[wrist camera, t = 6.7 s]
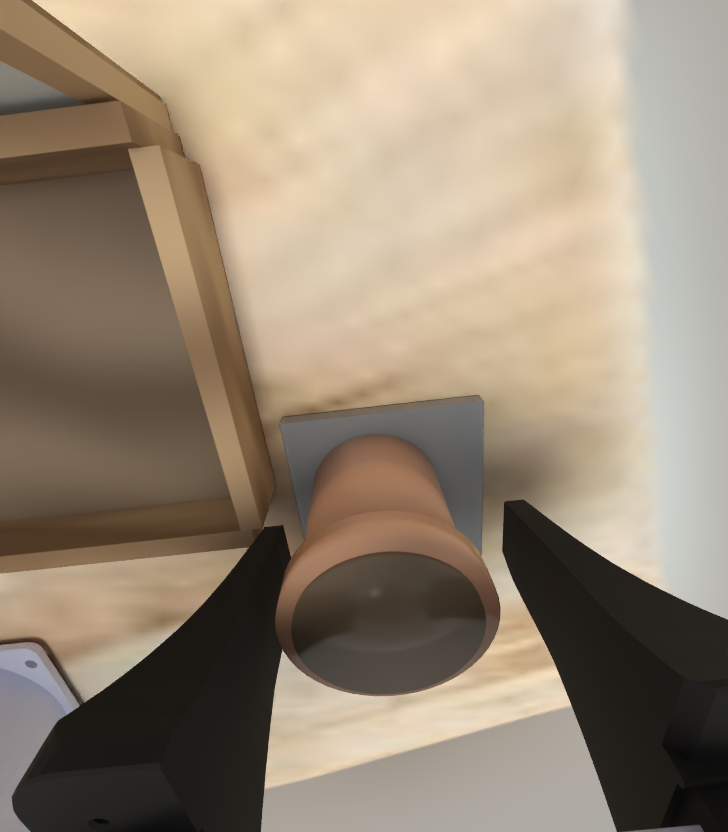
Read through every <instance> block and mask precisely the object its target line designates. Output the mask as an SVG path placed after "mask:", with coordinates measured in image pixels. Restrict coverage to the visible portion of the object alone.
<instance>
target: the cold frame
mask: <svg viewBox="0 0 728 832" xmlns="http://www.w3.org/2000/svg"><path fill="white" fill-rule="evenodd" d="M22 1H23V2H24V3H26V4H27V5H29V6H30V7H31V8H33V9H34V10H35V11H37V12H38V13H40V14H41V15H42V16H44V17H45V18H46V19H48V20H49V21H51V22H52V23H53V24H55V25H56V26H57V27H59V28H60V29H62V30H63V31H64V32H66V33H67V34H68V35H70V36H71V37H73V38H74V39H75V40H77V41H78V42H79V43H81V44H82V45H84V46H85V47H86V48H88V49H89V50H90V51H92V52H93V53H95V54H96V55H97V56H99V57H100V58H102V59H103V60H104V61H106V62H107V63H108V64H110V65H111V66H113V67H114V68H115V69H117V70H118V71H119V72H121V73H122V74H124V75H125V76H126V77H128V78H129V79H130V80H132V81H133V82H135V83H136V84H137V85H139V86H140V87H141V88H143V89H144V90H146V91H147V92H148V93H150V94H151V95H152V96H154V97H155V98H157V99H158V100H159V101H161V100H160V96H159V95H157V94H156V93H155V92H153V91H152V90H151V89H149V88H148V87H147V86H145V85H144V84H143V83H141V82H140V81H139V80H137V79H136V78H135V77H133V76H132V75H131V74H129V73H128V72H127V71H125V70H124V69H123V68H121V67H120V66H119V65H117V64H116V63H115V62H113V61H112V60H111V59H109V58H108V57H107V56H105V55H104V54H103V53H101V52H100V51H99V50H97V49H96V48H95V47H93V46H92V45H91V44H89V43H88V42H87V41H85V40H84V39H83V38H81V37H80V36H79V35H77V34H76V33H75V32H73V31H72V30H71V29H69V28H68V27H67V26H65V25H64V24H63V23H61V22H60V21H59V20H57V19H56V18H55V17H53V16H52V15H51V14H49V13H48V12H47V11H45V10H44V9H42V8H41V7H40V6H38V5H37V4H36V3H34V2H33V1H32V0H22ZM275 486H276V485H275V481H274V477H273V472H272V468H271V464H270V460H269V456H268V451H267V447H266V443H265V439H264V435H263V430H262V426H261V422H260V418H259V414H258V409H257V405H256V401H255V397H254V393H253V388H252V384H251V380H250V376H249V372H248V367H247V363H246V359H245V355H244V351H243V346H242V342H241V338H240V334H239V330H238V325H237V321H236V317H235V313H234V308H233V304H232V300H231V296H230V292H229V287H228V283H227V279H226V275H225V271H224V266H223V262H222V258H221V254H220V250H219V245H218V241H217V237H216V233H215V229H214V224H213V220H212V216H211V212H210V208H209V203H208V199H207V195H206V191H205V187H204V182H203V178H202V174H201V170H200V166H199V164H197V163H195V162H192V161H190V160H188V159H186V158H185V157H184V153H183V149H182V145H181V141H180V137H179V136H178V135H176V134H175V133H173V132H171V131H170V130H168V129H166V128H165V127H163V126H161V125H160V124H158V123H157V122H155V121H153V120H152V119H150V118H148V117H147V116H145V115H143V114H142V113H140V112H138V111H137V110H135V109H133V108H132V107H130V106H128V105H127V104H125V103H123V102H122V101H112V102H104V103H96V104H88V105H81V106H73V107H65V108H57V109H49V110H41V111H34V112H26V113H18V114H10V115H2V116H0V573H9V572H19V571H28V570H38V569H47V568H57V567H66V566H75V565H85V564H94V563H104V562H113V561H123V560H132V559H141V558H151V557H160V556H170V555H179V554H189V553H198V552H207V551H217V550H226V549H236V548H245V547H250V546H251V545H252V543H253V542H254V540H255V539H256V538H257V536H258V535H259V534H260V532H261V530H262V528H263V525H264V521H265V518H266V515H267V512H268V508H269V505H270V502H271V499H272V496H273V492H274V489H275Z"/></svg>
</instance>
